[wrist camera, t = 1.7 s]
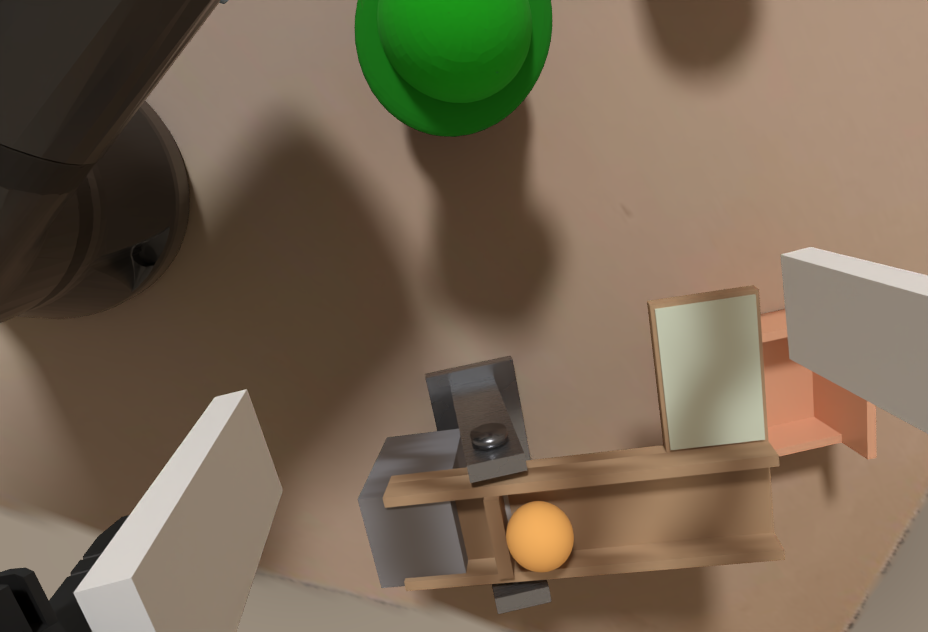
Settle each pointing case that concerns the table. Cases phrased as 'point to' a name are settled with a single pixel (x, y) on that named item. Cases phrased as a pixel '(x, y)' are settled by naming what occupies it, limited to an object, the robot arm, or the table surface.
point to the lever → (603, 474)
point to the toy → (452, 59)
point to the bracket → (488, 441)
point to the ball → (539, 536)
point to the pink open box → (809, 401)
